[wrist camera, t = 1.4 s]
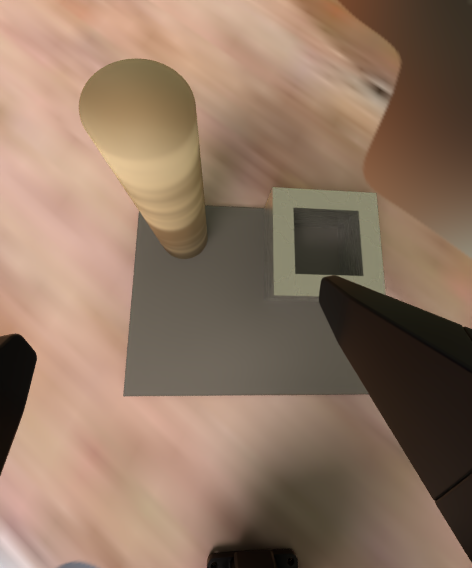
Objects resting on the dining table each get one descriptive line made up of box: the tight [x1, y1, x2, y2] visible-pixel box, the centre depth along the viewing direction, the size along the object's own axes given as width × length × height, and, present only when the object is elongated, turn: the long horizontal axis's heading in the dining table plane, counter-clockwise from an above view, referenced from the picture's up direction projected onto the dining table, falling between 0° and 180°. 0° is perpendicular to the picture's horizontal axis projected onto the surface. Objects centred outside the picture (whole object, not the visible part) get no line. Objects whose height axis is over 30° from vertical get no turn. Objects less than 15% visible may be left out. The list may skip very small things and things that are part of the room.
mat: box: [123, 205, 369, 396], centre depth 21 cm, size 16×20×1 cm
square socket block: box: [264, 187, 386, 302], centre depth 20 cm, size 8×8×4 cm
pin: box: [79, 59, 208, 259], centre depth 15 cm, size 4×4×13 cm
